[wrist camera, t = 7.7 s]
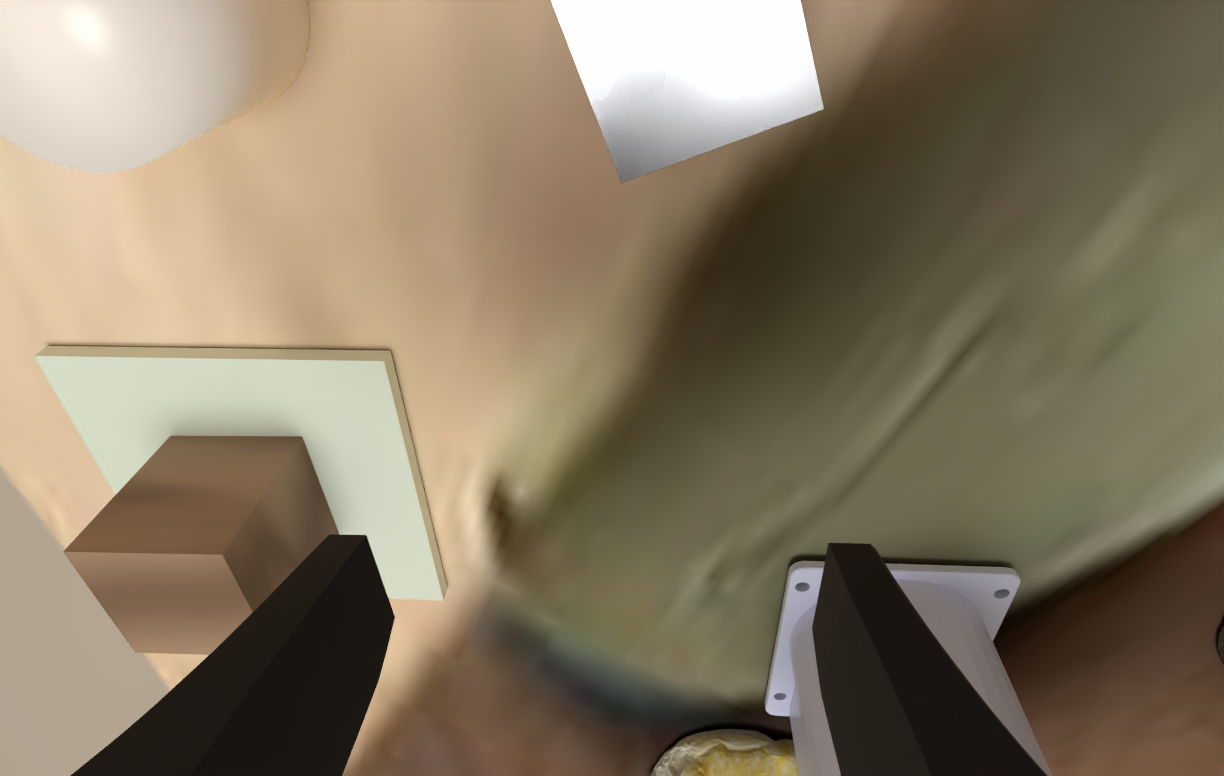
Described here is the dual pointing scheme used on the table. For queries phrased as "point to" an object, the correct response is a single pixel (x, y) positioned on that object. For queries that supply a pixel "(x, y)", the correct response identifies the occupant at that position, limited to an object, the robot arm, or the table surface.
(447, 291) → the table surface
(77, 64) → the white rounded dome
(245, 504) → the walnut block
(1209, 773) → the table surface
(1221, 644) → the pillar candle
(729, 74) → the grey metal block
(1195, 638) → the table surface
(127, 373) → the plate
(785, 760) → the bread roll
